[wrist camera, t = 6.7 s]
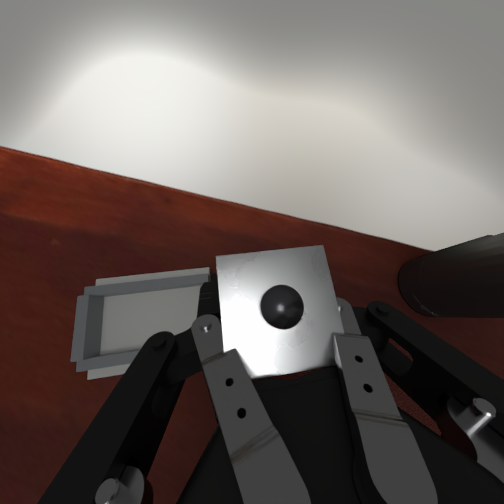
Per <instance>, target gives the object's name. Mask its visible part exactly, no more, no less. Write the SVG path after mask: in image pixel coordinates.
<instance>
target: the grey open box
mask: <svg viewBox="0 0 504 504" xmlns="http://www.w3.org/2000/svg"><path fill="white" fill-rule="evenodd" d="M204 282H211V279H210V268H209V267H207V268H197V269H188V270H179V271H169V272H160V273H151V274H141V275H132V276H123V277H113V278H104V279H96V286H90V287H85V290H84V296H78V298H77V307H76V316H75V325H74V334H73V343H72V352H71V361H70V362H75V361H77V367H76V372H80V371H86V370H88V378H87V380H89V379H95V378H101V377H108V376H114V375H120V374H124V373H125V372H126V370H127V369H128V367H129V366H130V364H131V363H132V361H133V360H134V358H135V357H136V355H137V354H138V352H139V351H140V349H141V348H142V346H143V345H144V343H145V342H146V341H147V339H148V338H150V337H151V336H152V335H154V334H156V333H158V332H162V331H169V332H171V333H173V335H177V334H179V333H182V332H184V331H186V330H188V329H189V328H190V327H191V326H192V323H193V322H194V321H195V320H196V318H197V310H198V302H199V295H200V294H199V293H200V287H201V286H202V285H203V283H204Z"/></svg>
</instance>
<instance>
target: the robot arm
mask: <svg viewBox="0 0 504 504" xmlns="http://www.w3.org/2000/svg"><path fill="white" fill-rule="evenodd" d="M398 280H399V288H400V291H401V293H402V296H403V298H404V299H405V301H406V302H407V303H408V304H409V305H410V307H411V308H413V309H414V310H415V311H417V312H418V313H420V314H422V315H425V316H429V317H459V318H504V233H501V234H498V235H495V236H493V235H487V236H484V237H480V238H477V239H474V240H471V241H467V242H464V243H461V244H458V245H454V246H451V247H448V248H445V249H441V250H438V251H435V252H432V253H428V254H425V255H423V256H422V257H421V258H417V259H414V260H411V261H409V262H407V263H406V264H405V265H404V266H403V267H402V268H401V270H400V273H399V279H398ZM199 294H200V295H199V302H198V310H197V318H196V320H195V321H194V322H193V323H192V326H191V327H190V328H189V329H188V330H186V331H184V332H182V333H179V334H177V335H173V333H171V332H169V331H162V332H158V333H156V334H154V335H152V336H151V337H150V338H148V339H147V341H146V342H145V343H144V345H143V346H142V348H141V349H140V351H139V352H138V354H137V355H136V357H135V358H134V360H133V361H132V363H131V364H130V366H129V367H128V369H127V370H126V372H125V373H124V375H123V376H122V378H121V379H120V381H119V382H118V384H117V385H116V387H115V388H114V390H113V391H112V393H111V394H110V396H109V397H108V399H107V400H106V402H105V403H104V405H103V406H102V408H101V409H100V411H99V412H98V414H97V415H96V417H95V418H94V420H93V421H92V423H91V424H90V426H89V427H88V429H87V430H86V432H85V433H84V435H83V436H82V438H81V439H80V441H79V442H78V444H77V445H76V447H75V448H74V450H73V451H72V453H71V454H70V456H69V457H68V459H67V460H66V462H65V463H64V464H63V466H62V467H61V469H60V470H59V472H58V473H57V475H56V476H55V478H54V479H53V481H52V482H51V484H50V485H49V487H48V488H47V490H46V491H45V493H44V494H43V496H42V497H41V499H40V500H39V502H38V503H37V504H153V497H154V494H153V488H152V485H151V483H150V482H149V481H148V480H147V476H148V473H149V471H150V468H151V466H152V463H153V461H154V458H155V455H156V453H157V450H158V448H159V445H160V443H161V440H162V438H163V435H164V433H165V430H166V428H167V425H168V423H169V420H170V417H171V415H172V412H173V410H174V407H175V405H176V402H177V400H178V397H179V395H180V392H181V390H182V387H183V385H184V382H185V379H186V378H188V377H189V376H191V375H193V374H195V373H197V372H199V371H201V370H202V372H203V375H204V378H205V382H206V385H207V389H208V392H209V395H210V399H211V403H212V406H213V410H214V413H215V417H216V420H217V424H218V426H217V428H216V430H215V431H214V433H213V435H212V437H211V439H210V441H209V443H208V445H207V447H206V448H205V450H204V452H203V454H202V456H201V458H200V460H199V462H198V463H197V465H196V467H195V469H194V471H193V473H192V475H191V477H190V478H189V480H188V482H187V484H186V486H185V488H184V490H183V492H182V493H181V495H180V497H179V499H178V501H177V503H176V504H504V380H503V379H501V378H500V377H498V376H496V375H495V374H493V373H492V372H490V371H489V370H487V369H486V368H484V367H483V366H481V365H480V364H478V363H477V362H475V361H474V360H472V359H471V358H469V357H468V356H466V355H465V354H463V353H462V352H460V351H459V350H457V349H456V348H454V347H453V346H451V345H450V344H448V343H447V342H445V341H444V340H442V339H440V338H439V337H437V336H436V335H434V334H433V333H431V332H430V331H428V330H427V329H425V328H424V327H422V326H421V325H419V324H418V323H416V322H415V321H413V320H412V319H410V318H409V317H407V316H406V315H404V314H403V313H401V312H400V311H398V310H397V309H395V308H394V307H392V306H390V305H389V304H386V303H384V302H379V301H373V302H370V303H369V304H368V306H367V308H360V307H352V306H351V305H350V304H349V303H348V302H347V301H346V300H344V299H341V298H338V297H336V300H337V304H338V309H339V313H340V317H341V321H342V325H343V329H344V333H336V332H333V349H334V359H335V361H336V363H337V365H334V366H328V367H323V368H322V369H319V370H314V371H312V372H310V373H308V374H306V375H304V376H302V377H300V378H299V379H297V380H283V379H272V378H269V379H264V380H258V381H253V382H252V381H251V379H250V377H249V375H248V373H247V371H246V369H245V367H244V365H243V363H242V361H241V359H240V357H239V355H238V353H237V351H236V349H235V348H233V349H231V350H228V351H226V352H224V346H223V334H222V323H221V311H220V299H219V288H218V276H217V273H213V274H212V276H211V282H204V283H203V285H202V286H201V287H200V293H199ZM389 338H391V339H393V340H394V341H395V342H396V343H398V344H399V345H400V346H401V347H403V348H404V349H405V350H406V351H408V352H409V353H410V355H411V356H412V358H413V361H411V360H410V359H409V358H408V357H407V356H405V355H404V354H403V353H402V352H400V351H399V350H398V349H397V348H396V347H394V346H393V345H392V344H391V343H389V342H388V340H389ZM383 372H385V373H386V374H387V375H388V376H389V377H390V378H391V379H392V380H393V381H394V382H395V383H396V384H397V385H398V386H399V387H400V388H401V389H402V390H403V391H404V392H405V393H406V394H407V395H408V396H409V397H410V398H411V399H413V400H414V401H415V402H416V403H417V404H418V405H419V406H420V407H421V408H422V409H423V410H424V411H425V412H426V413H427V414H428V415H429V416H430V417H431V418H432V419H433V420H434V421H435V422H436V423H437V426H438V428H439V430H440V431H441V437H440V436H439V435H438V434H436V433H435V432H433V431H432V430H430V429H429V428H428V427H426V426H425V425H423V424H422V423H420V422H419V421H417V420H416V419H415V418H413V417H412V416H410V415H409V414H407V413H406V412H405V411H403V410H402V409H400V408H399V407H397V406H396V404H395V401H394V399H393V396H392V394H391V391H390V389H389V386H388V383H387V381H386V378H385V376H384V373H383Z"/></svg>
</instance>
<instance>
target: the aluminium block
mask: <svg viewBox="0 0 504 504" xmlns="http://www.w3.org/2000/svg"><path fill="white" fill-rule="evenodd" d="M216 264H217V276H218V288H219V299H220V311H221V323H222V334H223V346H224V352H226V351H228V350H231V349H233V348H235V349H236V351H237V353H238V355H239V357H240V359H241V361H242V363H243V365H244V367H245V369H246V371H247V373H248V375H249V377H250V379H251V380H256V379H261V378H267V377H272V376H278V375H284V374H289V373H295V372H300V371H306V370H312V369H317V368H323V367H328V366H334V365H337V363H336V361H335V359H334V349H333V332H336V333H344V329H343V325H342V321H341V317H340V313H339V309H338V304H337V300H336V296H335V292H334V288H333V284H332V280H331V276H330V272H329V268H328V264H327V259H326V255H325V251H324V247H323V245H319V246H309V247H300V248H290V249H281V250H271V251H262V252H252V253H243V254H233V255H224V256H216Z"/></svg>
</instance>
